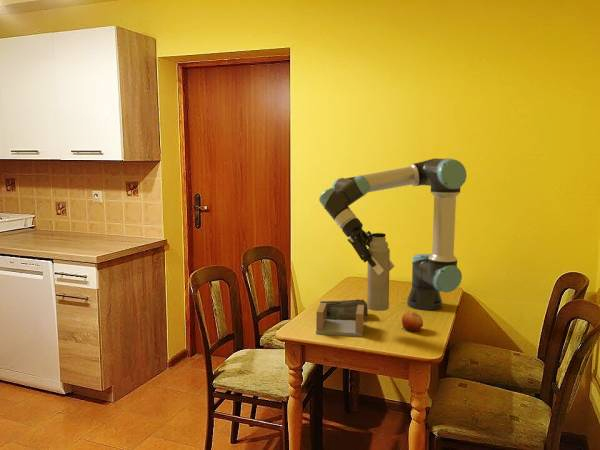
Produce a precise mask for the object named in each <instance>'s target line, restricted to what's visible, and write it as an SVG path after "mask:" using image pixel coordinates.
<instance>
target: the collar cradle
mask: <svg viewBox="0 0 600 450" xmlns="http://www.w3.org/2000/svg"><path fill="white" fill-rule="evenodd" d="M326 317H327V303H320V302H319V306H318V308H317V310H316V325H315V326H316V327H315V328H316V330H315V334H316V335H328V336H329V335H330V336H345V337H356V338H357V337H358V338H361V337H363V329H364V321H365V320H364V319H365V318H364V305H358V306H357V311H356V318H355V320H348V319H332V320H329V319H326Z"/></svg>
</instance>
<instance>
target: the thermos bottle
mask: <svg viewBox="0 0 600 450" xmlns="http://www.w3.org/2000/svg"><path fill="white" fill-rule="evenodd" d="M371 234H372V236H373V237H372V242H370V245H369V246H370V248H369V247H367V249H368V251H369V253H370V255H371V257H374V258H375V260H376V261H377V262H378V263H379V264H380V266H381V267H382V268H383V269H384V271H383V272H382V273H381V274H380V275H378V274H377V273H376V272H375V270H374V269H373V268H372V267H371V265H370V264H369V263H368V262H367V279H366V280H367V290H366V291H367V293H366V295H367V296H366V297H367V298H366V303H367V308H368V310H370V311H374V312H384V311H387V310H389V309H390V307H389V306H390V271H389V266H390V261H391V258H390V257H391V252H390V251H391V250H390V248H389V242H387V241H386V240H387V239H386V237H387V236H386V233H383V232H376V233H375V232H374V233H371Z"/></svg>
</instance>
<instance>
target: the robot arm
mask: <svg viewBox="0 0 600 450" xmlns="http://www.w3.org/2000/svg"><path fill="white" fill-rule="evenodd" d="M466 181H467V170H466V167H465V166H464V164H463V163H462V162H461V161H459V160H458V159H455V158H454V159H453V158H448V157H447V158H437V157H435V158H431V159H426V160H423V161H418V162H415V163H411V164H409V166H408V167H400V168H395V169H390V170H389V169H388V170H385V171H384V170H383V171H378V172H374V173H367V174H359V175H356V176H351V177H340V178H337V179H335V180H334V181H333V183H332V187H330V188H328V189H324V191H323V192H322V193H321V194H320V195H319V199H318V201H319V202H320V204H321V206H322V207H323V208H324V210H325V211H326V212H327V213H328V215H329V216H330V217H331V218H332V220H333V221H334V222H335V223H336V225H337V226H338V227H339V228H340V229H341V231H342V232H343V233H344V235H345V236H346V237H347V242H348V243H350V244H351V246H352V247H353V249H354V251H355V253H356V254H357V255H358V257H359V259H360V260H362V261H363V262H364V263H366V262H367V264H368V263H369V264H370V265H371V267H372V268H373V269H374V270H375V272H376V273H377V274H378V275H380V274H381V273H382V272H383V271H384V269H383V268H382V267H381V266H380V264H379V263H378V262H377V261H376V260H375V258H374V257H371V255H370V253H369V251H368V248H370V246H369V245H370V242H372V237H373V236H372V234H373V233H372V232H371V231H370V230H368V231H365V230H363V227H364V226H363V223H362V221H360V219H359V218H358V217H357V215H356V214H355V213H354V212H353V210H352V209H351V208H350V207H349V206H351V205H352V204H354V203H355V202H357V201H358V200H359V199H361V198H362V197H364V196H365V197H366V195H367V194H368V193H373V192H378V191H383V190H389V189H395V188H401V187H407V186H412V187H418V186H430V193H431V194H432V196H433V220H432V222H433V223H432V247H431V248H432V249H431V253H416V254H414V255H413V257H412V262H411V264H412V267H411V271H412V272H411V273H412V274H411V276H412V277H411V288H410V292H409V293H408V296H407V299H406V301H407V302H406V303H407V306H408V307H410V308H412V309H416V310H422V311H423V310H425V311H432V310H433V311H435V310H439V309H441V308H443V299H442V295H441V292H442V293H450V292H453V291H455V290H456V289H457V288H458V287H459V286H460V284H461V282H462V279H463V274H462V271H461V270H460V268H459V267H458V258H457V256H455V254H454V253H455V235H456V234H455V233H456V227H455V226H456V210H457V209H456V207H457V197H458V195H459V194H460V193H461V187H463V185H464V184H465V182H466ZM395 267H396V266H395V264H394V263H393V262H392V261H391V260H390V266H389V272H390V271H391V270H393V269H394V268H395Z"/></svg>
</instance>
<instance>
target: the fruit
mask: <svg viewBox="0 0 600 450" xmlns="http://www.w3.org/2000/svg"><path fill="white" fill-rule="evenodd" d="M401 323H402V324H401V326H402V328H401V330H403V329H405V330H406V331H409V332H413V333H414V332H417V331H419V330H420V329H421V328H422V327H423V325H424V321H423V318H422V316H421V315H420V314H419V313H417V312H416V311H412V310H409V311H406V312H405V313H404V314H403V315H402V317H401Z"/></svg>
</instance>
